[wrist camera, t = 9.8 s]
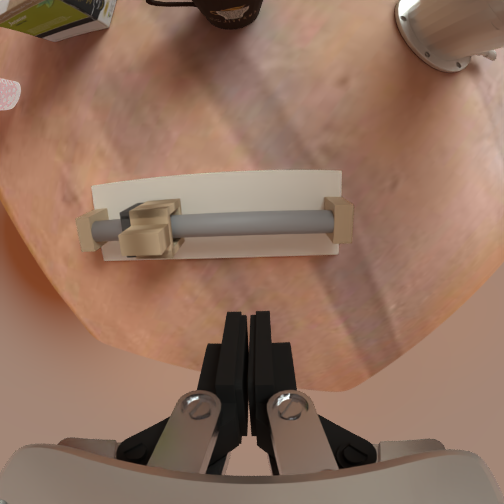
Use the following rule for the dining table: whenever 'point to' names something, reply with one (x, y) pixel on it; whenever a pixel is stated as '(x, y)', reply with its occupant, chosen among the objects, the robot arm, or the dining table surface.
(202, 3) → the coffee mug
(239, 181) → the pipe rail
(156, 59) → the dining table surface
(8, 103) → the beverage cup
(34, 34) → the tea box
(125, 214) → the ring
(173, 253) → the sleeve
